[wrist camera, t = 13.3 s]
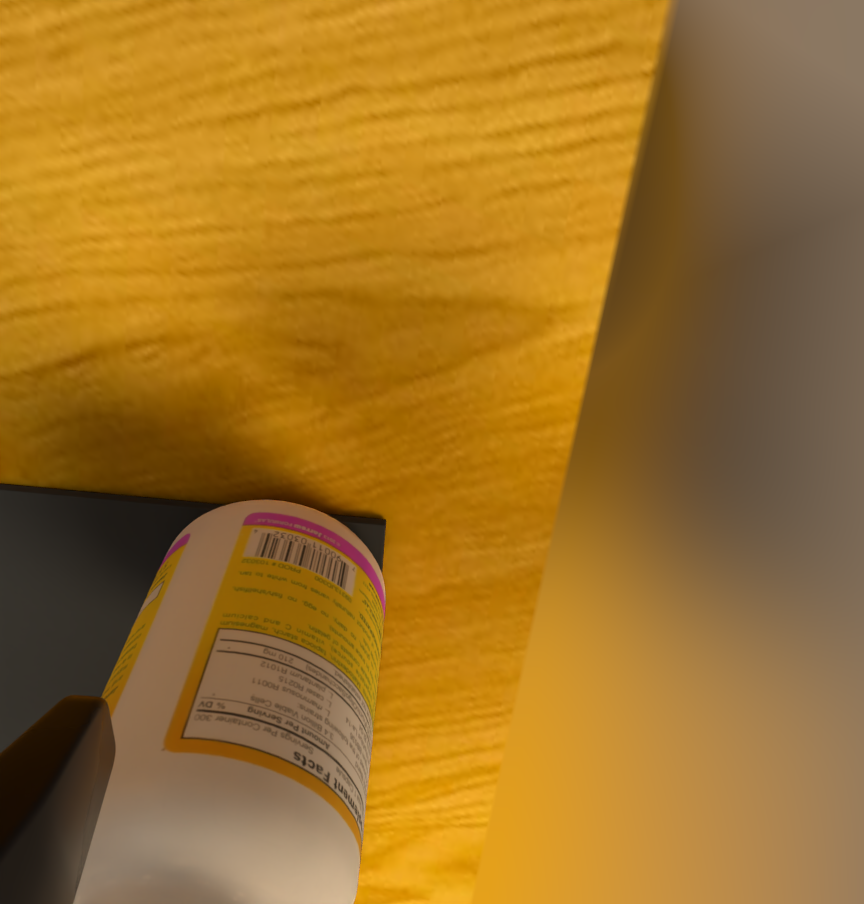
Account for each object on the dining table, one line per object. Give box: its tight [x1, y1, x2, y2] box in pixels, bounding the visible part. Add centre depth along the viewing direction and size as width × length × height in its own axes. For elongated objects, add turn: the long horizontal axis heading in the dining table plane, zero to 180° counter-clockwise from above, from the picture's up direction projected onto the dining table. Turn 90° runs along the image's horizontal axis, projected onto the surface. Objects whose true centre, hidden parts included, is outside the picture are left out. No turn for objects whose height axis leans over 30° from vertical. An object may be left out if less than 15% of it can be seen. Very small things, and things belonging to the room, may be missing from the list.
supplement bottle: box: [73, 500, 386, 904], centre depth 19 cm, size 7×7×13 cm
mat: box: [0, 484, 386, 753], centre depth 28 cm, size 18×18×1 cm
